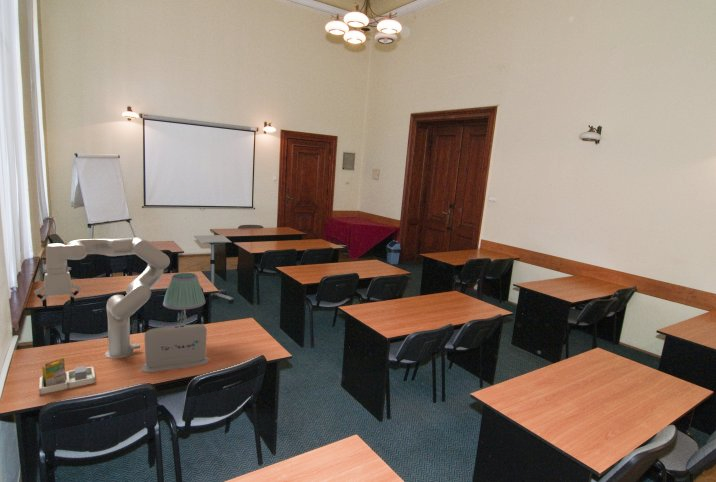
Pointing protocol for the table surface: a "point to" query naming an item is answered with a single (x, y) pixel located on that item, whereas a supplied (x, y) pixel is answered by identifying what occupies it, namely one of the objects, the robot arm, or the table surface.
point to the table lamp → (184, 294)
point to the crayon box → (54, 373)
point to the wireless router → (175, 347)
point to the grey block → (80, 373)
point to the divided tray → (68, 381)
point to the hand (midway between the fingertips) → (58, 306)
